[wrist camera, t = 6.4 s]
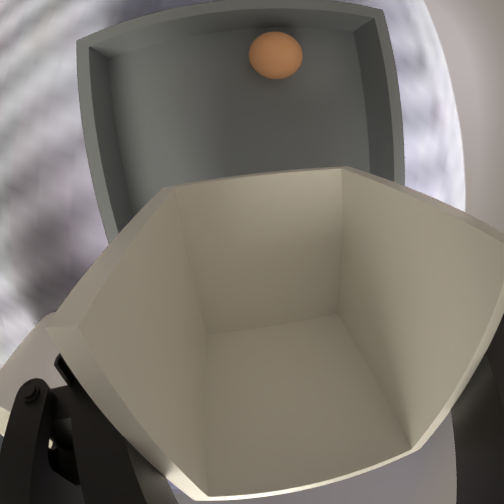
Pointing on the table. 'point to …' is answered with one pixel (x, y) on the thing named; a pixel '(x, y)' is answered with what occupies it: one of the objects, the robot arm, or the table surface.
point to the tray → (234, 98)
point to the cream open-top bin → (283, 327)
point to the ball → (275, 55)
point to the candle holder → (29, 368)
